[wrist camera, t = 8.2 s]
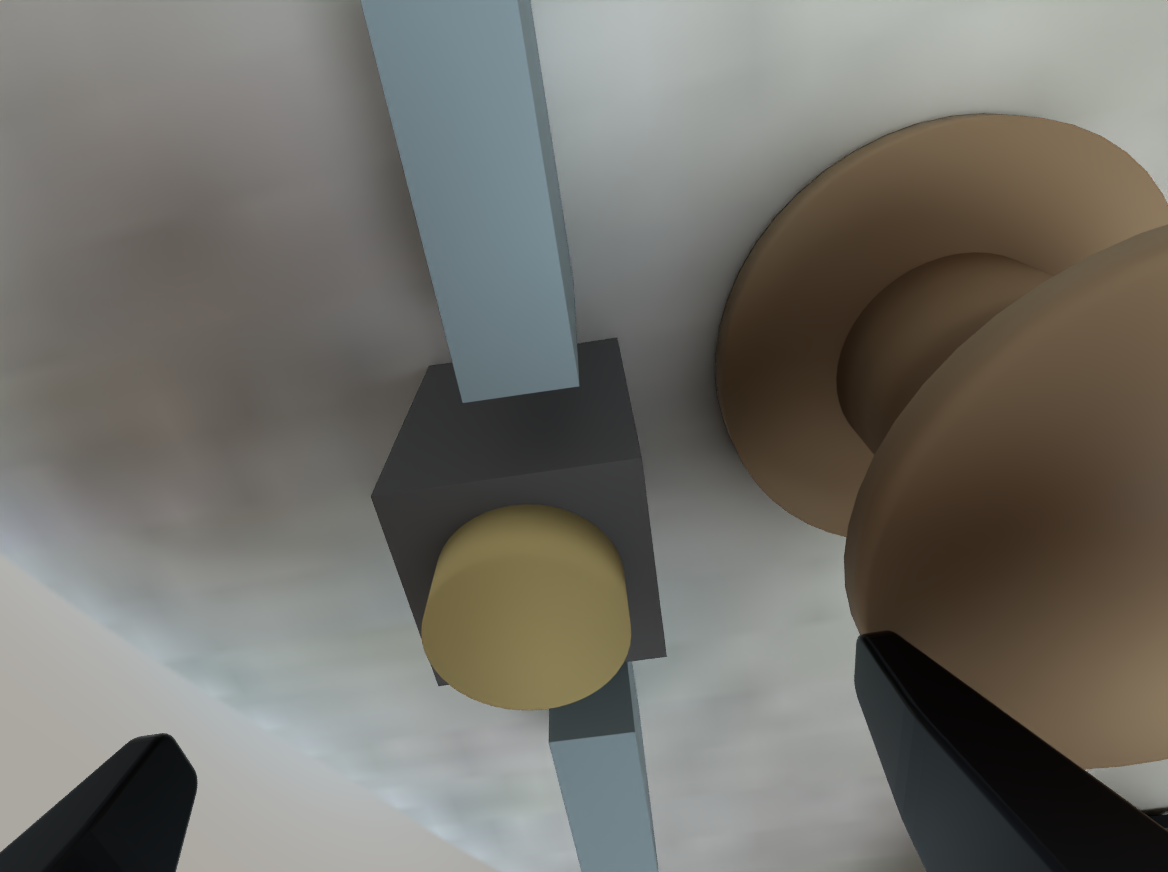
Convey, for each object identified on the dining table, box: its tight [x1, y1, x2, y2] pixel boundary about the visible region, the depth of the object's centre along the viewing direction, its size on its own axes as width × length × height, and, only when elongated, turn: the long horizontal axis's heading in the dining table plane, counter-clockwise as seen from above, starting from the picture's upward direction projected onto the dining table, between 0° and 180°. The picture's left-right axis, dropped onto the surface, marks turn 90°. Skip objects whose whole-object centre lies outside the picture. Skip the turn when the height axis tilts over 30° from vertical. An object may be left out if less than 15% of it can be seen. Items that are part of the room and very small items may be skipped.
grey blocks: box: [361, 0, 659, 872], centre depth 13 cm, size 18×2×5 cm, turn 8°
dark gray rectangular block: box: [371, 338, 667, 710], centre depth 13 cm, size 4×4×6 cm
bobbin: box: [715, 113, 1168, 769], centre depth 11 cm, size 9×9×7 cm
